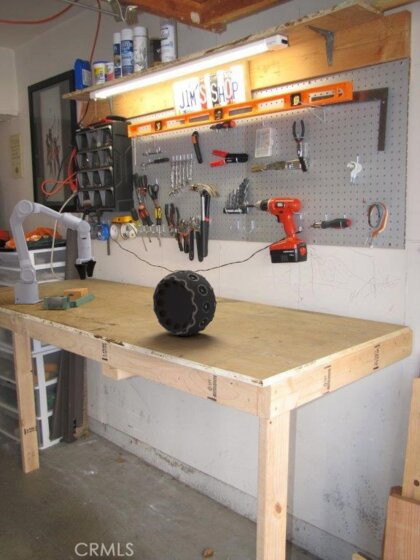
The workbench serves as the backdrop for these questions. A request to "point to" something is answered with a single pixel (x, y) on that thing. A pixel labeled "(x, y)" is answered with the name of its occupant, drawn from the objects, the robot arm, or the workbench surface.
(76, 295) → the orange square block
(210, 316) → the dark studded ball
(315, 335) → the workbench surface
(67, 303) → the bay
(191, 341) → the workbench surface
